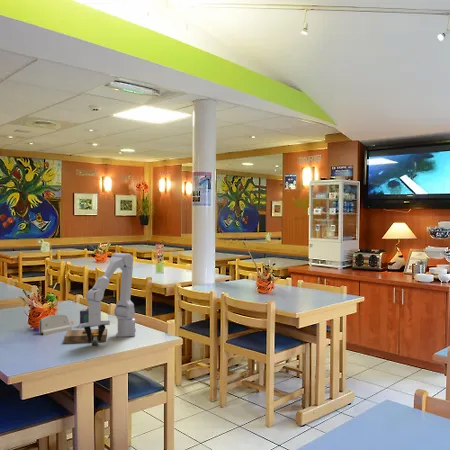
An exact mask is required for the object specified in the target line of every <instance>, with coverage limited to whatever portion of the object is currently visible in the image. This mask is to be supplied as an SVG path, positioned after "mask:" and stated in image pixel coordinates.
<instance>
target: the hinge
mask: <svg viewBox="0 0 450 450" xmlns="http://www.w3.org/2000/svg"><path fill="white" fill-rule="evenodd" d="M38 330H39V331H38V332H39V335H40V334H42V335H43V336H47V335H53V334H56V333H62V332H67V331H68V330H73V329H72V326H71V323H70V320H69V318H68V316H67V315H66V314H52V315H49V316H46V317H45V316H44V317H43V318H41V319H40V320H39V321H38Z"/></svg>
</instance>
